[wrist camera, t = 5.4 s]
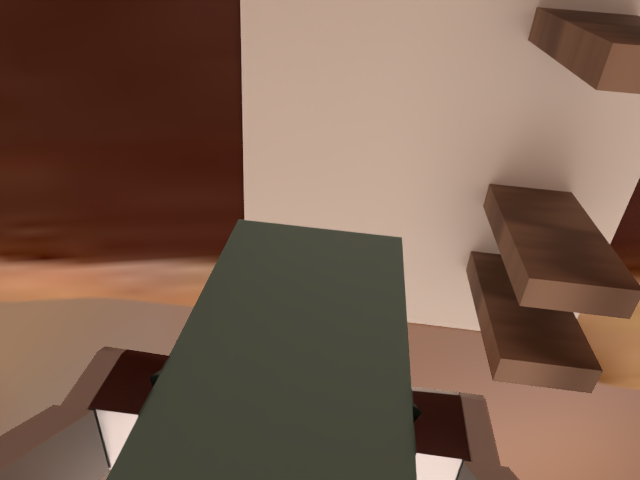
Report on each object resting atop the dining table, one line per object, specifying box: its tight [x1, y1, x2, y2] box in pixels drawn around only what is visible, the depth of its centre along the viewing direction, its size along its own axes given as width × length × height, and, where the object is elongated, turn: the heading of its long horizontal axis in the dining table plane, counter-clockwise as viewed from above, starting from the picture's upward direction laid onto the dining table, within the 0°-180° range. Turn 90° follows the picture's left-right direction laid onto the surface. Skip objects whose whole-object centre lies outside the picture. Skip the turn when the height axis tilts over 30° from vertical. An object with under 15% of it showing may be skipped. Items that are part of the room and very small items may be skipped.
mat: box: [240, 0, 640, 331], centre depth 29 cm, size 24×30×1 cm
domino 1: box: [528, 7, 640, 94], centre depth 22 cm, size 5×2×10 cm, turn 86°
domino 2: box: [483, 184, 640, 319], centre depth 27 cm, size 5×2×10 cm, turn 86°
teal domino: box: [106, 219, 417, 480], centre depth 11 cm, size 5×2×10 cm, turn 86°
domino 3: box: [466, 251, 603, 393], centre depth 29 cm, size 5×2×10 cm, turn 87°
